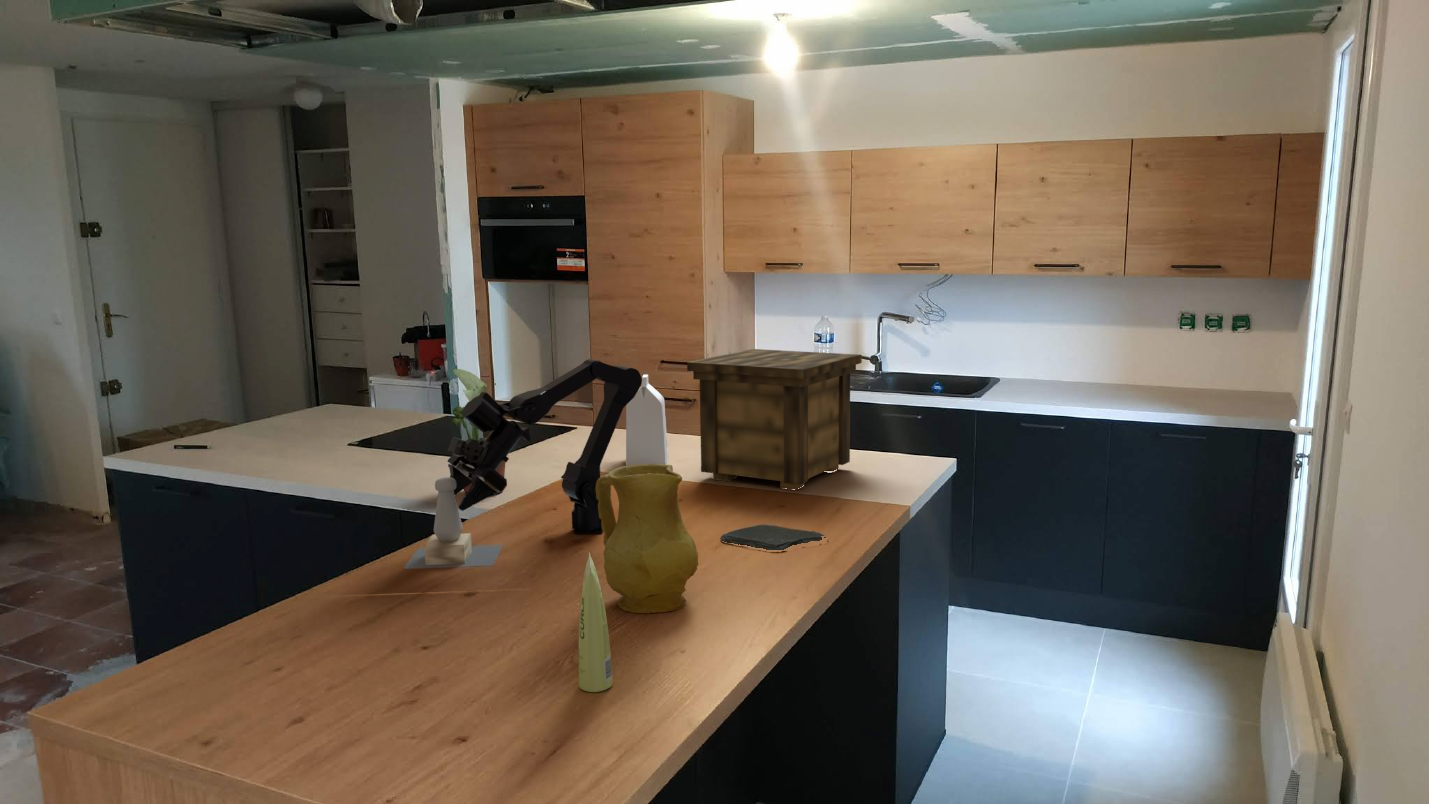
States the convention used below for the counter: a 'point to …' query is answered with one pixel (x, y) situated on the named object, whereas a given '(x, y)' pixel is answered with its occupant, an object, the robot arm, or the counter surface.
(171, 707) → the counter surface
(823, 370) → the crate
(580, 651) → the tube
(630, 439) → the milk
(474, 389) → the potted plant
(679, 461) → the counter surface
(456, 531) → the salt shaker
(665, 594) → the pitcher
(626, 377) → the robot arm
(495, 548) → the mat
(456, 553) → the beech block
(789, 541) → the stone slab
